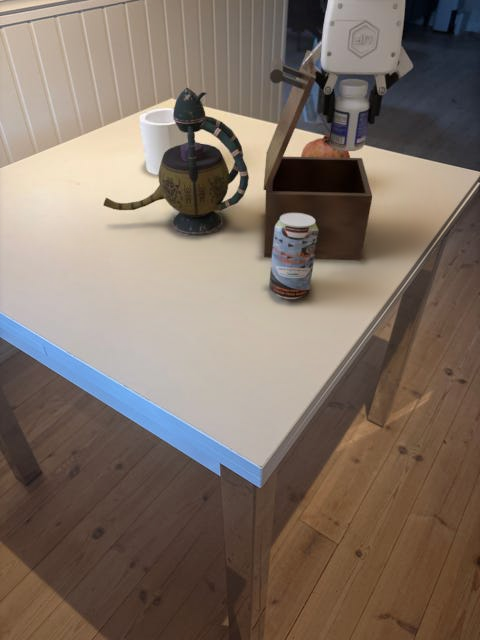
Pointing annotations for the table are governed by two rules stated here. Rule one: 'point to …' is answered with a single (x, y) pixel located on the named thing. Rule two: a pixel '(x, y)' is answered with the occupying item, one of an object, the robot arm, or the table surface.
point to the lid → (287, 112)
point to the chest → (322, 202)
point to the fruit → (323, 149)
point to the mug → (159, 136)
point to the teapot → (196, 172)
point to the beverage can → (293, 255)
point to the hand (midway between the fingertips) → (349, 119)
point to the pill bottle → (350, 116)
